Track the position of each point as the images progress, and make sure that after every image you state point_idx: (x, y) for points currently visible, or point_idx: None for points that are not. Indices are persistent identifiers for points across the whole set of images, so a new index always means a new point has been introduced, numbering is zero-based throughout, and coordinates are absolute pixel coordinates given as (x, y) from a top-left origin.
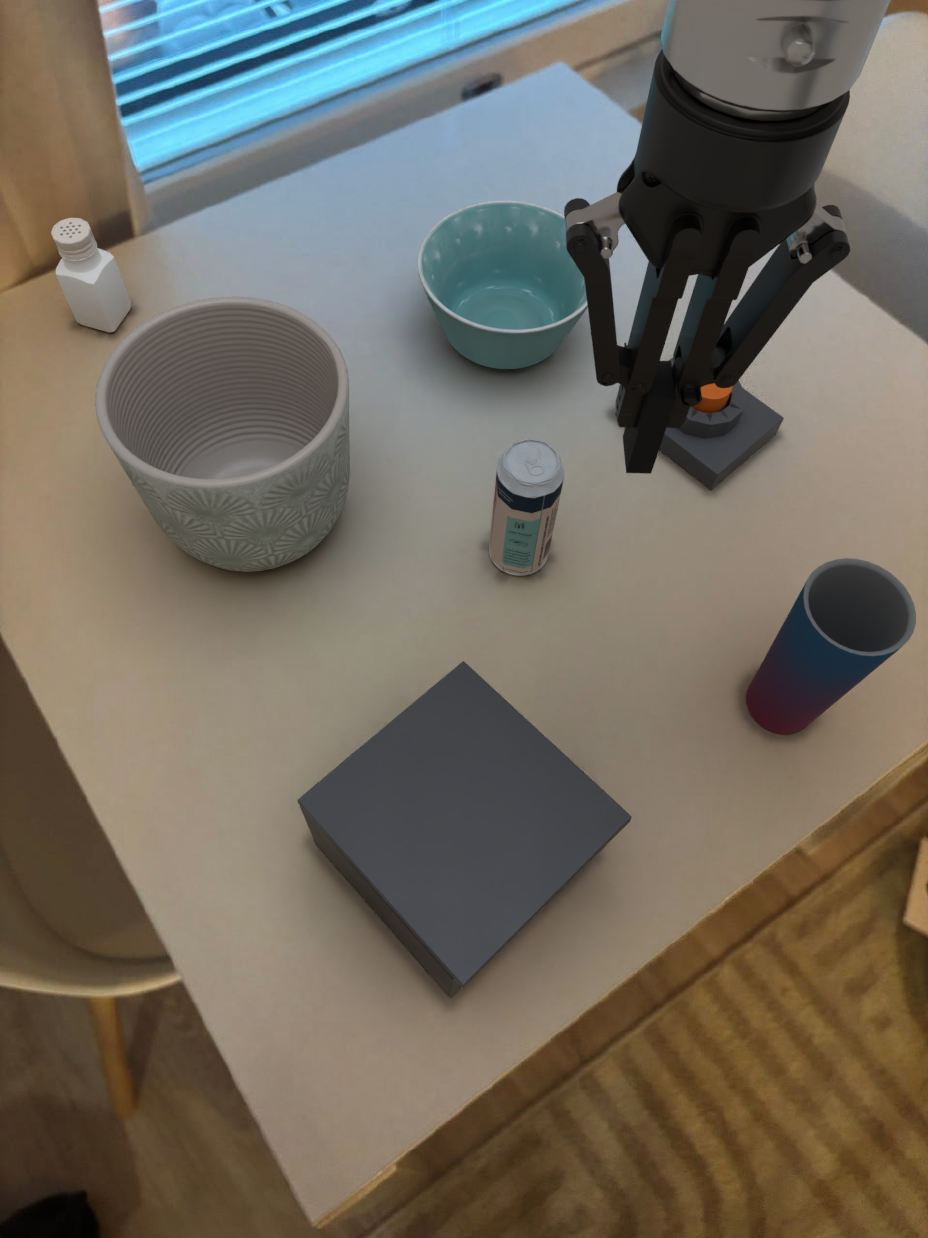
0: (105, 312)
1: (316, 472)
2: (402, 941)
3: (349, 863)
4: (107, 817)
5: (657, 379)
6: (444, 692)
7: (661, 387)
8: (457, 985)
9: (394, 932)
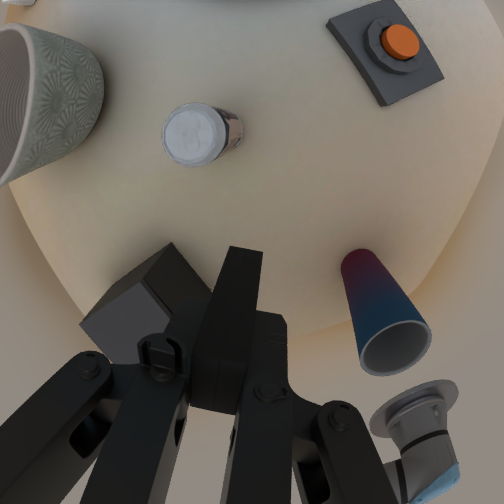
0: (23, 2)
1: (35, 153)
2: None
3: None
4: (45, 257)
5: (211, 387)
6: (130, 297)
7: (215, 399)
8: None
9: None
